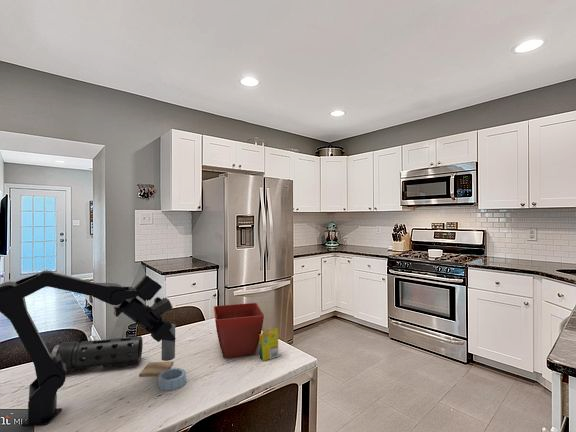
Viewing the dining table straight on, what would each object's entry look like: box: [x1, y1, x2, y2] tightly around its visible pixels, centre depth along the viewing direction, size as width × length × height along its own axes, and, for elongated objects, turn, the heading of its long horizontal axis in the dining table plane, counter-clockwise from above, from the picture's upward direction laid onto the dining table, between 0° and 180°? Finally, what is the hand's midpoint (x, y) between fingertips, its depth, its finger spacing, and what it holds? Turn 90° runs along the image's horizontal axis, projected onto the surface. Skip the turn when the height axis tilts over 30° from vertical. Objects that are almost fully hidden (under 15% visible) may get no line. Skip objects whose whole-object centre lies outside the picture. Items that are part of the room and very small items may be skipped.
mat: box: [138, 360, 174, 377], centre depth 111 cm, size 9×9×1 cm
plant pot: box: [213, 302, 265, 359], centre depth 128 cm, size 19×19×17 cm
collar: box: [157, 367, 187, 392], centre depth 102 cm, size 8×8×3 cm
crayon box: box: [258, 327, 279, 362], centre depth 121 cm, size 7×3×12 cm, turn 122°
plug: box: [160, 323, 176, 362], centre depth 106 cm, size 4×4×11 cm
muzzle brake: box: [50, 335, 143, 372], centre depth 113 cm, size 10×28×10 cm, turn 105°
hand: (172, 337), depth 106 cm, fingers closed on plug, 4 cm apart
